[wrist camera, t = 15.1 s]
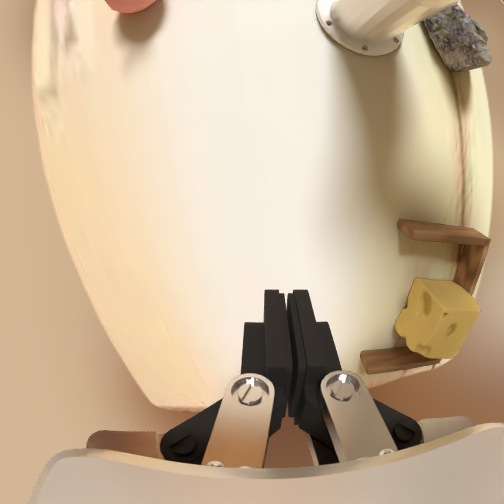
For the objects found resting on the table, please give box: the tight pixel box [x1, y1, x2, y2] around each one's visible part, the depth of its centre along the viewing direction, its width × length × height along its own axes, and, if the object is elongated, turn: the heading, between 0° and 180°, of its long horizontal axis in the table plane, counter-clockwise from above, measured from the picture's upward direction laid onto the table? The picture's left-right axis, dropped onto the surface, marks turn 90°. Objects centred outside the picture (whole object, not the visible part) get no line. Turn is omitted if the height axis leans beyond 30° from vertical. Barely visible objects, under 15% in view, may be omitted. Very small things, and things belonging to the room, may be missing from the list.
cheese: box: [395, 278, 481, 359], centre depth 37 cm, size 10×11×10 cm
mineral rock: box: [423, 4, 492, 72], centre depth 19 cm, size 13×11×10 cm
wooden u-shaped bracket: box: [360, 219, 491, 374], centre depth 39 cm, size 26×17×5 cm, turn 178°
